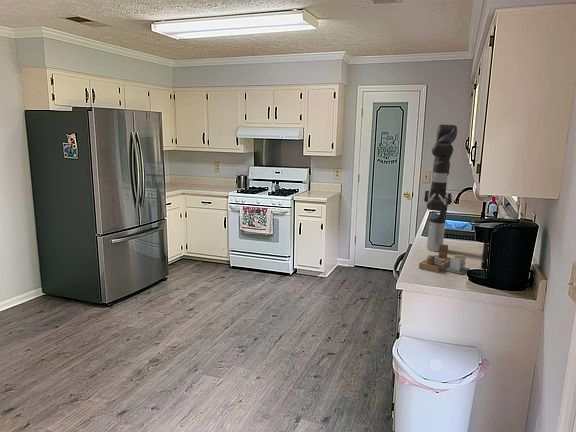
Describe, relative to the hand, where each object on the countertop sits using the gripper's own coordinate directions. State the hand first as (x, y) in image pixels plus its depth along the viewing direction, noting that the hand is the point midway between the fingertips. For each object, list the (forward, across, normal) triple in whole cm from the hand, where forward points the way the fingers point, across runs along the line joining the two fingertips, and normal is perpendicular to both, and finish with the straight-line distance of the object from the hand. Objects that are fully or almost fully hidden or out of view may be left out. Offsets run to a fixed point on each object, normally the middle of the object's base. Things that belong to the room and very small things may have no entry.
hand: (436, 210), depth 234 cm
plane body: (+28, -6, +9) cm, 30 cm away
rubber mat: (+28, -17, +9) cm, 34 cm away
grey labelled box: (+27, -17, +9) cm, 33 cm away
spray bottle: (+28, -30, -4) cm, 41 cm away
